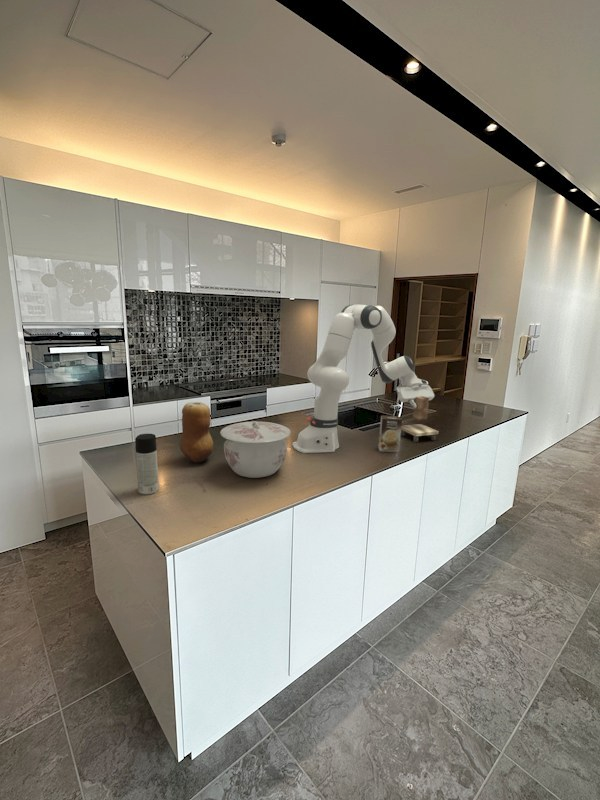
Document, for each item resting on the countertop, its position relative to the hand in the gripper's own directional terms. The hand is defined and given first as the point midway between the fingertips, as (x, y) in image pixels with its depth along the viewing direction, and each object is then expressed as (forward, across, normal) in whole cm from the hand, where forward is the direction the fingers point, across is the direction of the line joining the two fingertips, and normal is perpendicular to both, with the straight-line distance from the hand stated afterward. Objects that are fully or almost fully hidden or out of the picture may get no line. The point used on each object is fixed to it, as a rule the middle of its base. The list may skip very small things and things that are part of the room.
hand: (421, 407), depth 199 cm
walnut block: (+4, 0, +5) cm, 6 cm away
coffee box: (+20, -26, +4) cm, 33 cm away
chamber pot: (+24, -92, -1) cm, 95 cm away
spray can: (+28, -132, -6) cm, 135 cm away
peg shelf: (+11, 0, +12) cm, 17 cm away
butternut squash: (+11, -113, +12) cm, 114 cm away
